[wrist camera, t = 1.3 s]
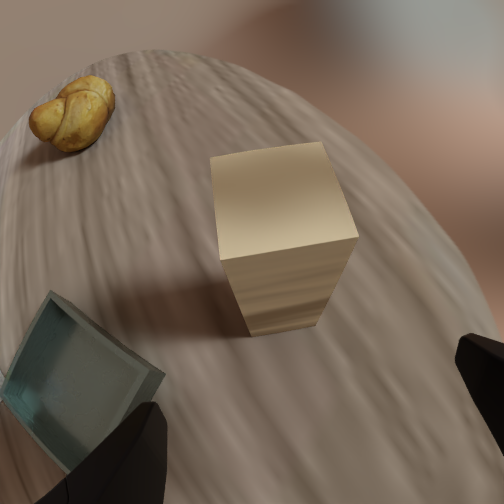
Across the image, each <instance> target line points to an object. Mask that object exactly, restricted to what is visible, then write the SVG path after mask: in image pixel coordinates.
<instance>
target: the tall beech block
mask: <svg viewBox="0 0 504 504" xmlns="http://www.w3.org/2000/svg"><path fill="white" fill-rule="evenodd" d="M210 163H211V174H212V185H213V196H214V206H215V216H216V225H217V235H218V244H219V253H220V261H221V263H222V266H223V268H224V271H225V273H226V276H227V278H228V281H229V283H230V286H231V288H232V291H233V293H234V296H235V298H236V300H237V303H238V305H239V308H240V310H241V313H242V315H243V318H244V320H245V322H246V325H247V327H248V330H249V332H250V334H251V337H256V336H262V335H268V334H274V333H280V332H285V331H291V330H296V329H301V328H306V327H311V326H315V325H316V323H317V322H318V320H319V318H320V316H321V314H322V312H323V310H324V308H325V306H326V304H327V302H328V300H329V298H330V297H331V295H332V293H333V291H334V289H335V287H336V284H337V282H338V280H339V278H340V276H341V274H342V272H343V270H344V268H345V266H346V264H347V262H348V260H349V257H350V255H351V253H352V251H353V249H354V247H355V244H356V242H357V240H358V238H359V235H358V232H357V230H356V227H355V224H354V221H353V218H352V216H351V213H350V210H349V208H348V205H347V202H346V200H345V197H344V195H343V192H342V190H341V187H340V185H339V182H338V180H337V177H336V175H335V172H334V170H333V168H332V165H331V163H330V160H329V158H328V156H327V154H326V151H325V149H324V147H323V144H322V142H314V143H305V144H296V145H288V146H280V147H273V148H266V149H259V150H252V151H246V152H240V153H234V154H228V155H222V156H217V157H212V158H210Z"/></svg>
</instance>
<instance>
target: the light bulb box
mask: <svg viewBox="0 0 504 504" xmlns="http://www.w3.org/2000/svg"><path fill="white" fill-rule="evenodd" d="M4 380H5V378H4V376H3V374H2V372H1V370H0V389H1V387H2V384H3V382H4ZM1 401H2V398H1V397H0V402H1Z"/></svg>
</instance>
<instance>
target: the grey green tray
mask: <svg viewBox="0 0 504 504" xmlns="http://www.w3.org/2000/svg"><path fill="white" fill-rule="evenodd" d="M165 375H166V374H165V373H164V372H162V371H161V370H159V369H158V368H156V367H155V366H153V365H152V364H150V363H149V362H147V361H146V360H144V359H143V358H142V357H140V356H139V355H137V354H136V353H134V352H133V351H132V350H130V349H129V348H127V347H126V346H125V345H123V344H122V343H121V342H119V341H118V340H117V339H115V338H114V337H113V336H111V335H110V334H109V333H107V332H106V331H105V330H104V329H102V328H101V327H100V326H99V325H97V324H96V323H95V322H94V321H92V320H91V319H90V318H89V317H87V316H86V315H85V314H84V313H83V312H81V311H80V310H79V309H78V308H77V307H76V306H74V305H73V304H72V303H71V302H69V301H68V300H66V299H64V298H63V297H61V296H59V295H58V294H56V293H55V292H53V291H51V290H50V291H49V293H48V295H47V296H46V298H45V300H44V302H43V303H42V305H41V307H40V309H39V310H38V312H37V314H36V316H35V318H34V319H33V321H32V323H31V325H30V327H29V329H28V331H27V333H26V335H25V337H24V339H23V341H22V343H21V345H20V347H19V349H18V351H17V353H16V355H15V357H14V359H13V361H12V364H11V366H10V368H9V370H8V373H7V375H6V377H5V380H4V382H3V384H2V387H1V389H0V397H1V398H2V400H3V401H4V402H5V404H6V405H7V407H8V408H9V409H10V411H11V412H12V413H13V415H14V416H15V417H16V419H17V420H18V421H19V422H20V424H21V425H22V426H23V427H24V429H25V430H26V431H27V432H28V433H29V435H30V436H31V437H32V438H33V439H34V440H35V442H36V443H37V444H38V445H39V446H40V447H41V448H42V449H43V450H44V452H45V453H46V454H47V455H48V456H49V457H50V458H51V459H52V460H53V461H54V462H55V463H56V464H57V465H58V466H59V467H60V468H61V469H62V470H63V471H64V472H65V473H66V474H67V475H68V474H69V473H70V472H71V471H72V470H73V469H74V468H75V467H76V466H77V465H78V464H79V463H80V462H81V461H82V460H83V459H85V458H86V457H87V456H88V455H89V454H90V453H91V452H92V451H93V450H94V449H95V448H96V447H97V446H98V445H99V444H100V443H101V442H102V441H103V440H104V439H105V438H106V437H107V436H108V435H109V434H110V433H111V432H112V431H113V430H114V429H115V428H116V427H117V426H118V425H119V424H120V423H121V422H122V421H123V420H124V419H125V418H126V417H127V416H128V415H129V414H130V413H131V412H132V411H133V410H134V409H135V408H136V407H137V406H138V405H139V404H140V403H142V402H150V401H151V399H152V397H153V396H154V394H155V392H156V390H157V389H158V387H159V385H160V384H161V382H162V380H163V378H164V377H165Z"/></svg>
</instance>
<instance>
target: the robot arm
mask: <svg viewBox="0 0 504 504" xmlns="http://www.w3.org/2000/svg"><path fill="white" fill-rule="evenodd" d="M455 363H456V366H457V368H458V370H459V372H460V374H461V376H462V378H463V380H464V382H465V384H466V387H467V389H468V391H469V393H470V395H471V397H472V399H473V401H474V403H475V405H476V407H477V408H478V410H479V412H480V413H481V415H482V417H483V419H484V420H485V422H486V424H487V426H488V428H489V429H490V431H491V433H492V435H493V437H494V439H495V441H496V442H497V444H498V446H499V448H500V450H501V452H502V454H503V456H504V343H501V342H498V341H495V340H492V339H489V338H486V337H483V336H480V335H477V334H474V333H469V334H467V335H464V336H462V337H461V338H460V339H459V343H458V347H457V351H456V355H455ZM166 475H167V421H166V419H165V417H164V415H163V413H162V411H161V409H160V407H159V405H158V404H157V403H156V402H154V401H150V402H142V403H140V404H139V405H138V406H137V407H136V408H135V409H134V410H133V411H132V412H131V413H130V414H129V415H128V416H127V417H126V418H125V419H124V420H123V421H122V422H121V423H120V424H119V425H118V426H117V427H116V428H115V429H114V430H113V431H112V432H111V433H110V434H109V435H108V436H107V437H106V438H105V439H104V440H103V441H102V442H101V443H100V444H99V445H98V446H97V447H96V448H95V449H94V450H93V451H92V452H91V453H90V454H89V455H88V456H87V457H86V458H85V459H83V460H82V461H81V462H80V463H79V464H78V465H77V466H76V467H75V468H74V469H73V470H72V471H71V472H70V473H69V474H68V475H67V476H66V478H64V479H62V480H61V481H60V482H59V483H58V484H57V485H56V486H55V487H54V488H53V489H52V490H50V491H49V492H48V493H47V494H46V495H45V496H43V497H42V498H41V499H40V500H38V501H37V502H36V503H34V504H163V500H164V492H165V483H166Z"/></svg>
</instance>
